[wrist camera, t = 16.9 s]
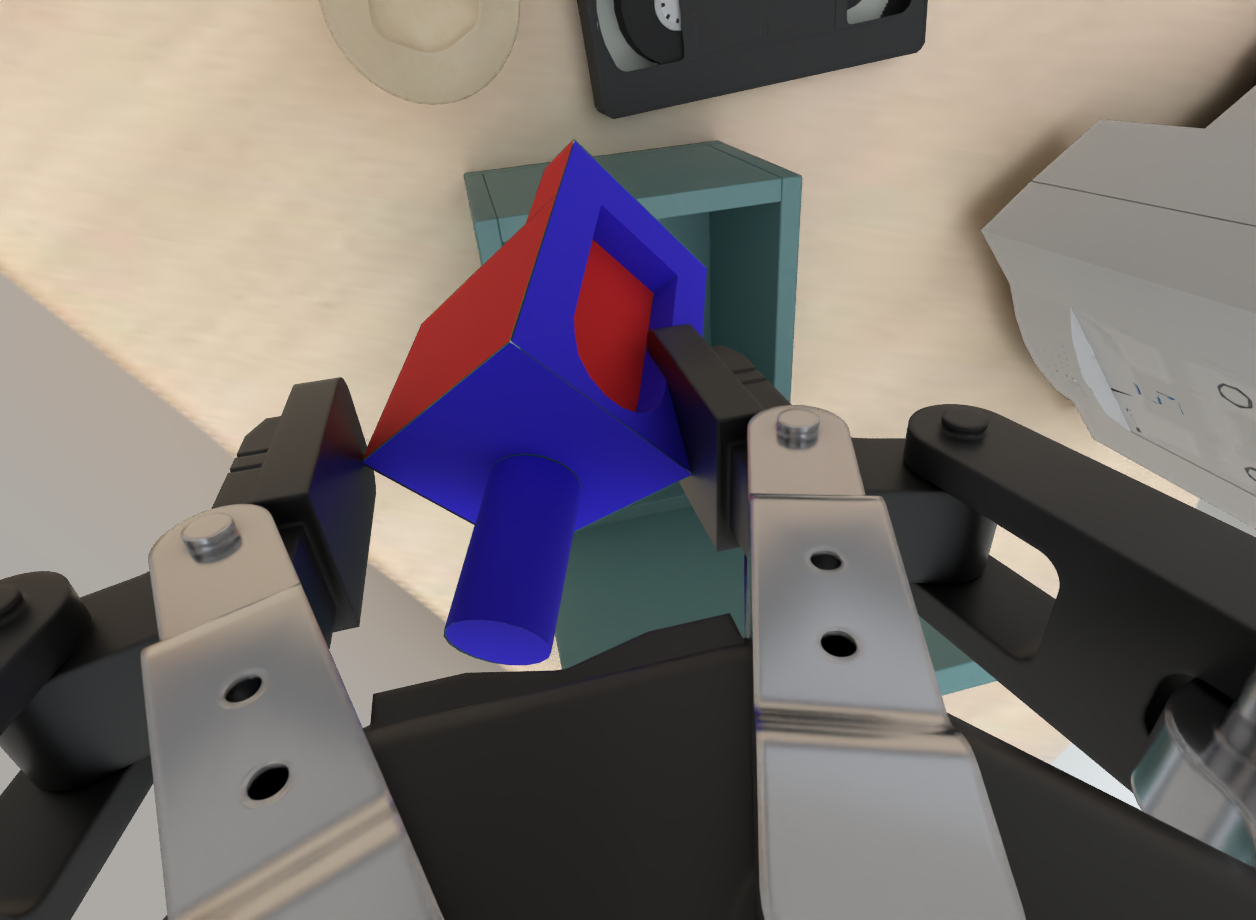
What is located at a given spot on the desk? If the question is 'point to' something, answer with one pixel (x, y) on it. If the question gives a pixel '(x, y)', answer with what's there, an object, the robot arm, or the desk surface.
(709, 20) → the vhs tape
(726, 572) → the lid
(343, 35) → the candle
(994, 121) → the desk surface
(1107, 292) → the electronic device
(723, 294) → the teal open box
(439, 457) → the toy building block
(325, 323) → the desk surface
